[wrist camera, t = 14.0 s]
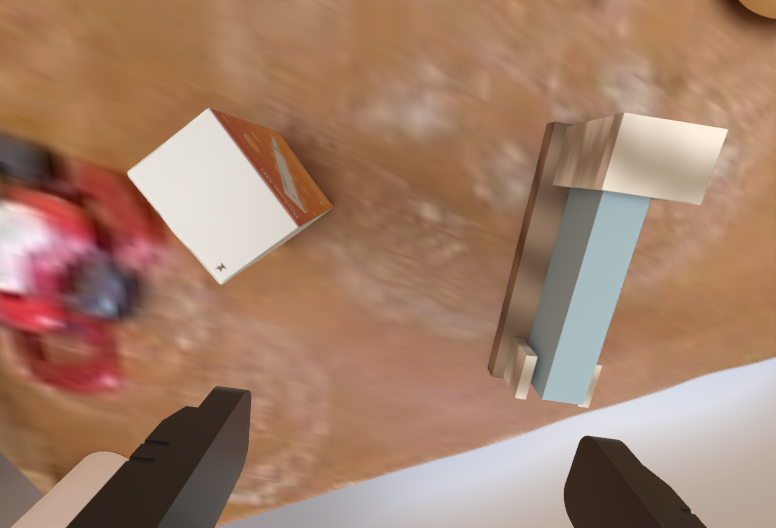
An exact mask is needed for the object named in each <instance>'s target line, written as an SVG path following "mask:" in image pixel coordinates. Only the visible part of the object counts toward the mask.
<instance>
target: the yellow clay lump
mask: <svg viewBox="0 0 776 528" xmlns="http://www.w3.org/2000/svg"><path fill="white" fill-rule="evenodd" d="M739 1H740V2H741V3H742V4H743V5H744V6H745V7H746V8H748V9H749V10H751V11H753V12H755V13H757V14H759V15H762V16H765V17H769V18H773V19H776V0H739Z"/></svg>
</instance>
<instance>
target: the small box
mask: <svg viewBox="0 0 776 528" xmlns="http://www.w3.org/2000/svg"><path fill="white" fill-rule="evenodd" d="M127 174H128V176H129V178H130V179H131V180H132V181H133V183H134V184H135V185H136V187H137V188H138V189H139V190H140V191H141V193H142V194H143V195H144V196H145V198H146V199H147V200H148V201H149V202H150V204H151V205H152V206H153V207H154V208H155V209H156V211H157V212H158V213H159V214H160V216H161V217H162V218H163V219H164V221H165V222H166V224H167V225H168V226H169V228H170V229H171V230H172V231H173V233H174V234H175V235H176V236H177V237H178V238H179V239H180V241H181V242H182V243H183V244H184V245H185V246H186V247H187V248H188V249H189V250H190V251H191V252H192V253H193V254H194V255H195V257H196V258H197V259H198V260H199V261H200V262H201V264H202V265H203V266H204V267H205V268H206V269H207V270H208V272H209V273H210V274H211V275H212V276H213V277H214V279H215V280H216V281H217V282H218V283H219V284H221V285H222V284H224V283H225V282H227V281H228V280H230V279H231V278H233V277H234V276H236V275H237V274H239V273H240V272H242V271H243V270H245V269H246V268H248V267H249V266H251V265H252V264H254V263H255V262H257V261H258V260H260V259H261V258H263V257H264V256H266V255H268V254H269V253H271V252H272V251H274V250H275V249H276V248H278V247H279V246H281V245H282V244H284V243H285V242H286V241H288V240H289V239H291V238H292V237H294V236H295V235H296V234H298V233H299V232H301V231H302V230H303V229H305V228H306V227H307V226H309V225H310V224H312V223H313V222H314V221H316V220H317V219H319V218H320V217H321V216H323V215H324V214H325V213H327V212H328V211H329V210H331V209H332V208H333V205H332V204H331V203H330V201H329V200H328V199H327V198H326V196H325V195H324V194H323V193H322V191H321V190H320V189H319V187H318V186H317V185H316V183H315V182H314V180H313V179H312V178H311V176H310V175H309V174H308V172H307V171H306V170H305V168H304V167H303V165H302V164H301V163H300V161H299V160H298V158H297V157H296V156H295V154H294V153H293V151H292V150H291V149H290V147H289V146H288V144H287V143H286V141H285V140H284V139H283V137H282V136H281V134H280V133H277V132H274V131H272V130H269V129H266V128H263V127H260V126H258V125H255V124H252V123H249V122H247V121H244V120H241V119H238V118H235V117H233V116H230V115H227V114H224V113H221V112H219V111H216V110H213V109H211V108H207V109H206V110H205V111H204V112H202V113H201V114H200V115H199V116H197V117H196V118H195V119H194V120H192V121H191V122H190V123H189V124H187V125H186V126H185V127H183V128H182V129H181V130H180V131H178V132H177V133H176V134H175V135H173V136H172V137H171V138H169V139H168V140H167V141H166V142H164V143H163V144H162V145H161V146H159V147H158V148H157V149H156V150H154V151H153V152H152V153H150V154H149V155H148V156H147V157H145V158H144V159H143V160H142V161H140V162H139V163H138V164H136V165H135V166H134V167H133V168H131V169H130V170H129V171H128V172H127Z"/></svg>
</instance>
